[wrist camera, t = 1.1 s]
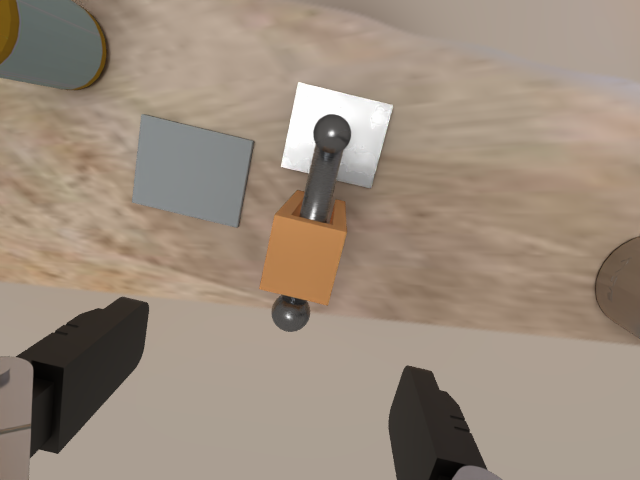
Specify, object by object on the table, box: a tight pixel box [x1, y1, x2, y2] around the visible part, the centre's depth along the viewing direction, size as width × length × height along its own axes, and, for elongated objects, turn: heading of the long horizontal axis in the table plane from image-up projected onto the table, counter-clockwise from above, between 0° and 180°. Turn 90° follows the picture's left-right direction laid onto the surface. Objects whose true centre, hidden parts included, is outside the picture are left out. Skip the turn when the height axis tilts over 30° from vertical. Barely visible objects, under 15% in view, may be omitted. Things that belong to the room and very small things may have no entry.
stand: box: [272, 82, 393, 332], centre depth 28 cm, size 8×16×14 cm, turn 167°
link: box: [259, 190, 347, 305], centre depth 27 cm, size 4×4×11 cm
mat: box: [132, 114, 254, 228], centre depth 35 cm, size 10×8×1 cm
